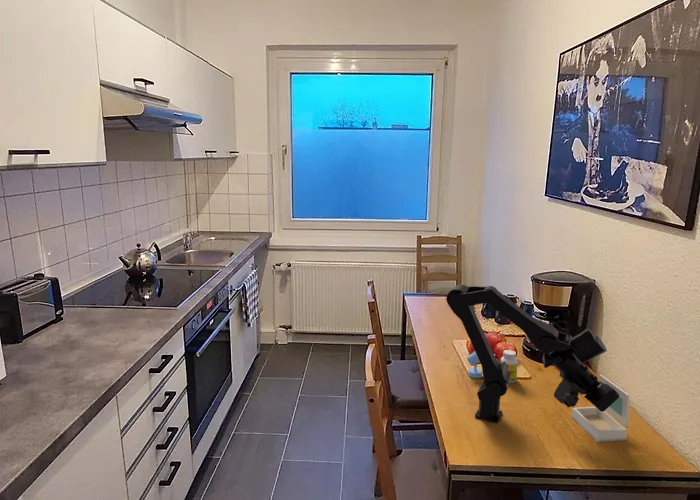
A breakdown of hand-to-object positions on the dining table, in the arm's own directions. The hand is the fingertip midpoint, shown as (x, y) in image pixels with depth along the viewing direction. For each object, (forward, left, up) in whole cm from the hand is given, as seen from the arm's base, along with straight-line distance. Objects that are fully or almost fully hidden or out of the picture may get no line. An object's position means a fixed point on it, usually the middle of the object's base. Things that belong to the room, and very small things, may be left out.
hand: (606, 403), depth 128 cm
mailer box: (-1, +1, -7) cm, 8 cm away
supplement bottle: (+17, +29, -8) cm, 34 cm away
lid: (+1, -1, +1) cm, 2 cm away
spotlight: (+15, +39, -8) cm, 42 cm away
